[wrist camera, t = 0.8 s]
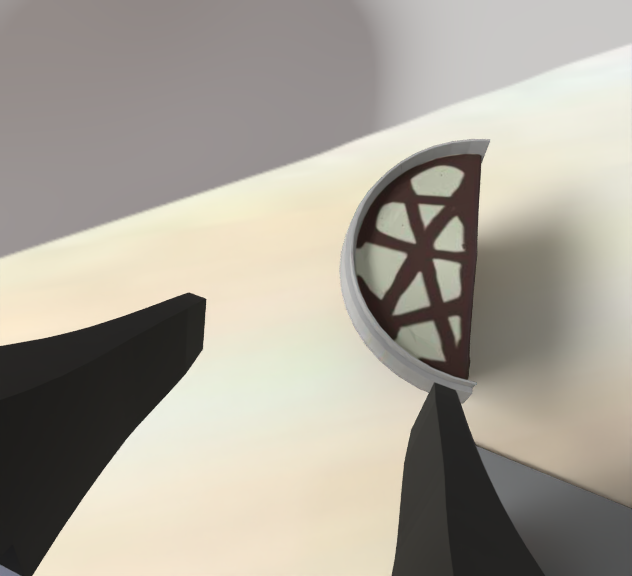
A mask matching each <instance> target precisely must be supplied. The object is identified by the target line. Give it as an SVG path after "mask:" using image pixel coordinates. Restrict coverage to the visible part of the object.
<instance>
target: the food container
mask: <svg viewBox="0 0 632 576" xmlns="http://www.w3.org/2000/svg"><path fill="white" fill-rule="evenodd" d="M489 142H490V139H469V140H460V141H452V142H448V143H444V144H440V145H436V146H432V147H430V148H427V149H425V150H422V151H420V152H417V153H415V154H413V155H412V156H410V157H408V158H406V159H404V160H403V161H401V162H400V163H398V164H397V165H396V166H394V167H393V168H392V169H391V170H389V171H388V172H387V173H386V174H385V175H384V176H383V177H381V178H380V179H379V180H378V181H377V182H376V184H375V185H374V186H373V187H372V188H371V189H370V190H369V191H368V192H367V194H366V195H365V197H364V198H363V200H362V201H361V203H360V204H359V206H358V208H357V210H356V212H355V214H354V216H353V219H352V221H351V223H350V226H349V228H348V230H347V233H346V236H345V239H344V243H343V247H342V251H341V259H340V282H341V291H342V295H343V299H344V303H345V306H346V310H347V312H348V314H349V316H350V319H351V321H352V323H353V325H354V328H355V329H356V331H357V332H358V334H359V335H360V337H361V338H362V340H363V341H364V343H365V344H366V346H367V347H368V348H369V349H370V350H371V351H372V352H373V354H374V355H375V356H376V357H377V358H378V359H379V360H380V361H381V362H382V363H383V364H384V365H385V366H387V367H388V368H389V369H390V370H391V371H393V372H394V373H395V374H396V375H398V376H399V377H400V378H402V379H404V380H405V381H407V382H409V383H411V384H412V385H414V386H416V387H417V388H419V389H421V390H424V391H426V392H428V393H429V392H430V390H431V388H432V386H433V384H434V382H435V383H438V384H441V385H443V386H446V387H449V388H452V389H454V390H456V392H457V394H458V396H459V399H460V403H464V402H465V401H466V400H467V399H468V398H469V396H470V395H471V394H472V387H474V386H475V385H477V382H473V381H469V380H468V376H469V366H470V356H469V351H470V333H471V319H472V306H473V292H474V282H475V271H476V260H477V236H478V211H479V193H480V177H481V163H482V161H483V158H484V155H485V153H486V150H487V148H488V145H489Z"/></svg>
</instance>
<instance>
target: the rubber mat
mask: <svg viewBox="0 0 632 576" xmlns="http://www.w3.org/2000/svg"><path fill="white" fill-rule="evenodd" d="M476 447H477V450H478V452H479V455H480V457H481V460H482V462H483V464H484V467H485V469H486V471H487V473H488V476H489V478H490V480H491V482H492V484H493V486H494V488H495V490H496V493H497V495H498V497H499V499H500V501H501V503H502V504H503V506H504V508H505V510H506V512H507V514H508V516H509V518H510V519H511V521H512V523H513V525H514V527H515V528H516V530H517V532H518V534H519V535H520V537H521V538H522V540H523V542H524V543H525V545H526V547H527V548H528V550H529V551H530V553H531V554H532V556H533V558H534V559H535V561H536V562H537V564H538V565H539V567H540V568H541V570H542V571H543V573H544V574H545V576H632V509H631V508H629V507H626V506H624V505H621V504H619V503H616V502H614V501H611V500H609V499H607V498H604V497H602V496H599V495H597V494H594V493H592V492H589V491H587V490H584V489H582V488H579V487H577V486H574V485H572V484H569V483H567V482H564V481H562V480H560V479H557V478H555V477H552V476H550V475H547V474H545V473H542V472H540V471H537V470H535V469H532V468H530V467H527V466H525V465H522V464H520V463H518V462H515V461H513V460H510V459H508V458H505V457H503V456H500V455H498V454H495V453H493V452H490V451H488V450H485V449H483V448H480V447H478V446H476Z"/></svg>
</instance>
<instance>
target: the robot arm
mask: <svg viewBox="0 0 632 576" xmlns="http://www.w3.org/2000/svg"><path fill="white" fill-rule="evenodd" d="M205 311H206V299H205V298H203V297H200V296H197V295H194V294H192V293H186V294H183V295H180V296H177V297H175V298H172V299H169V300H166V301H164V302H161V303H158V304H156V305H153V306H150V307H148V308H145V309H142V310H139V311H137V312H134V313H131V314H128V315H126V316H123V317H120V318H116V319H113V320H110V321H107V322H104V323H101V324H98V325H95V326H91V327H88V328H84V329H81V330H77V331H73V332H69V333H65V334H61V335H57V336H53V337H48V338H43V339H38V340H32V341H27V342H21V343H16V344H10V345H4V346H0V576H32V575H33V574H34V572H35V570H36V569H37V567H38V566H39V564H40V563H41V561H42V559H43V558H44V556H45V555H46V553H47V552H48V550H49V548H50V547H51V545H52V544H53V542H54V541H55V539H56V538H57V536H58V534H59V533H60V531H61V530H62V528H63V527H64V525H65V524H66V522H67V521H68V519H69V518H70V517H71V515H72V514H73V512H74V511H75V509H76V508H77V506H78V505H79V503H80V502H81V500H82V499H83V497H84V496H85V495H86V493H87V492H88V490H89V489H90V488H91V486H92V485H93V483H94V482H95V481H96V479H97V478H98V476H99V475H100V474H101V472H102V471H103V470H104V468H105V467H106V465H107V464H108V463H109V461H110V460H111V459H112V457H113V456H114V455H115V453H116V452H117V451H118V450H119V448H120V447H121V446H122V444H123V443H124V442H125V440H126V439H127V438H128V437H129V436H130V434H131V433H132V432H133V431H134V430H135V428H136V427H137V426H138V425H139V424H140V423H141V422H142V421H143V420H144V419H145V418H146V417H147V415H148V414H149V413H150V412H151V411H152V410H153V409H154V408H155V407H156V406H157V405H158V404H159V403H160V401H161V400H162V399H163V398H164V397H165V396H166V395H167V394H168V393H169V392H170V391H171V390H172V388H173V387H174V386H175V385H176V384H177V383H178V382H179V381H180V380H181V379H182V377H183V376H184V375H185V374H186V373H187V371H188V370H189V368H190V367H191V366H192V364H193V363H194V361H195V360H196V358H197V357H198V355H199V354H200V353H201V351H202V350H203V340H204V325H205ZM392 576H545V574H544V573H543V571H542V570H541V568H540V567H539V565H538V564H537V562H536V561H535V559H534V558H533V556H532V554H531V553H530V551H529V550H528V548H527V547H526V545H525V543H524V542H523V540H522V538H521V537H520V535H519V534H518V532H517V530H516V528H515V527H514V525H513V523H512V521H511V519H510V518H509V516H508V514H507V512H506V510H505V508H504V506H503V504H502V503H501V501H500V499H499V497H498V495H497V493H496V490H495V488H494V486H493V484H492V482H491V480H490V478H489V476H488V473H487V471H486V469H485V467H484V464H483V462H482V460H481V457H480V455H479V452H478V450H477V447H476V445H475V442H474V440H473V437H472V434H471V432H470V429H469V426H468V423H467V421H466V418H465V415H464V412H463V409H462V406H461V403H460V399H459V396H458V394H457V392H456V390H454V389H452V388H449V387H446V386H443V385H441V384H438V383H435V382H434V384H433V386H432V388H431V390H430V392H429V394H428V396H427V398H426V400H425V402H424V404H423V407H422V409H421V411H420V413H419V415H418V417H417V419H416V421H415V423H414V425H413V427H412V429H411V433H410V438H409V442H408V447H407V452H406V457H405V462H404V471H403V481H402V492H401V503H400V515H399V526H398V537H397V546H396V554H395V561H394V566H393V571H392Z"/></svg>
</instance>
